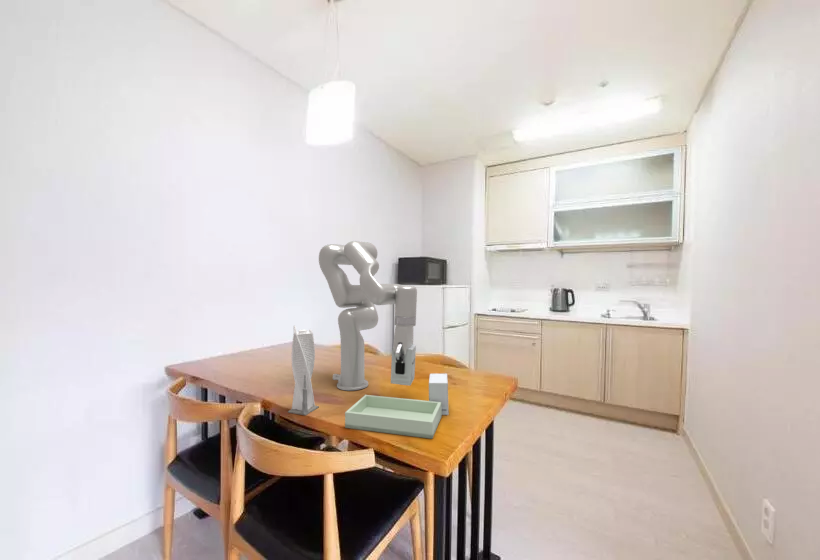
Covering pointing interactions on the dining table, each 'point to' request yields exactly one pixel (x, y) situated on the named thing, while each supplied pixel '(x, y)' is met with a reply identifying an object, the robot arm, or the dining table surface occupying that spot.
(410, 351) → the supplement box
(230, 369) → the dining table surface
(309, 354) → the skyscraper
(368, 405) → the tray
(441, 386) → the skincare box
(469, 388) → the dining table surface
